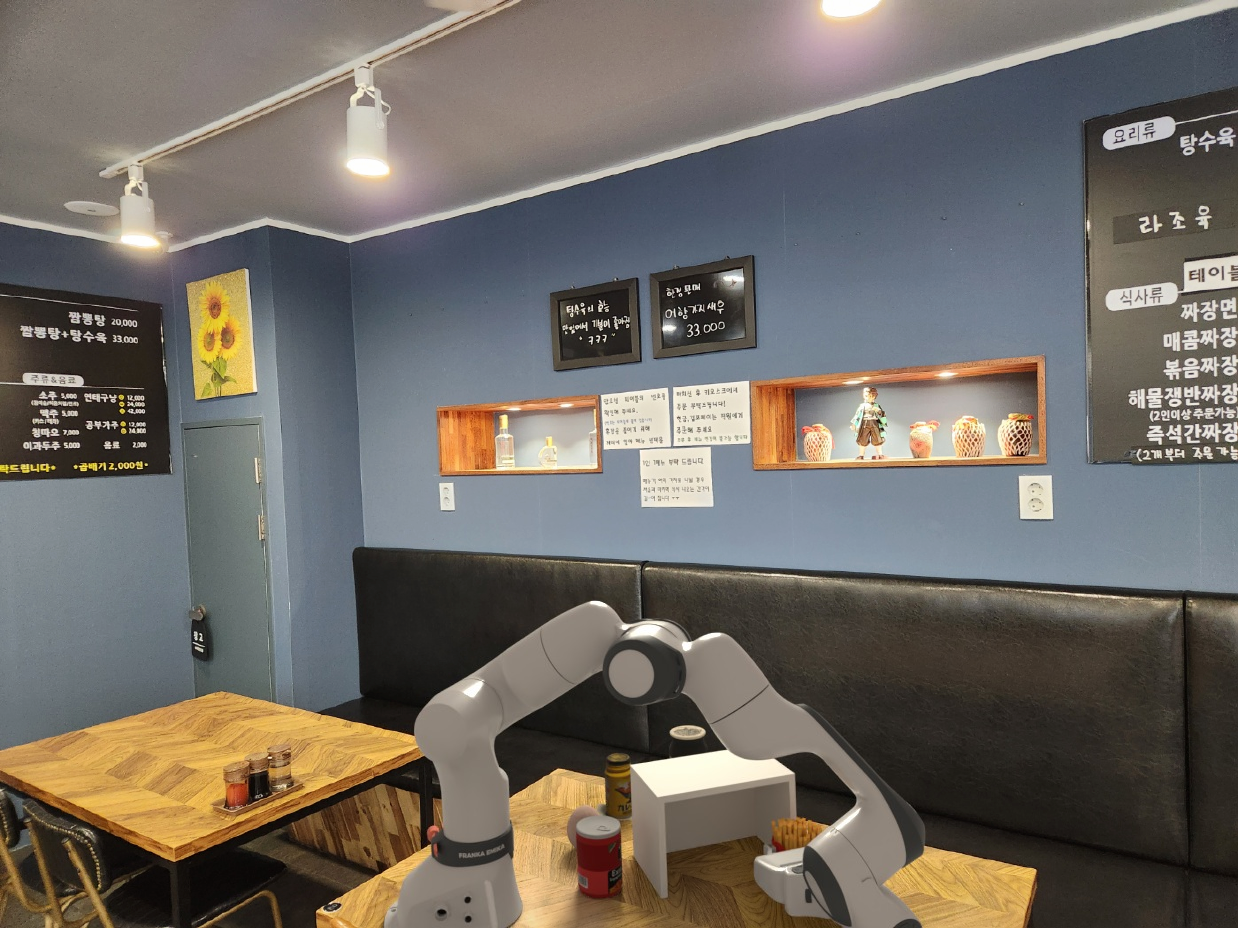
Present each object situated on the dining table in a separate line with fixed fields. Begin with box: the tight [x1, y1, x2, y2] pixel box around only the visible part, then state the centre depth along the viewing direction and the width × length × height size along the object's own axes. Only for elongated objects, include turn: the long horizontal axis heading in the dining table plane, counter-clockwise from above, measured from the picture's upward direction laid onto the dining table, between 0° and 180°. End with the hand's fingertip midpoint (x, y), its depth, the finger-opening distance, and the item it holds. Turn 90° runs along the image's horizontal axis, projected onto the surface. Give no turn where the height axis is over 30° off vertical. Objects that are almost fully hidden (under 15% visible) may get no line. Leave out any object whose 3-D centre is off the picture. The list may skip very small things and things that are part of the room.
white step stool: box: [630, 749, 797, 899], centre depth 139 cm, size 26×15×17 cm, turn 107°
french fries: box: [771, 816, 823, 853], centre depth 128 cm, size 8×4×12 cm, turn 73°
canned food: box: [576, 816, 624, 900], centre depth 132 cm, size 8×8×11 cm
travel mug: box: [668, 725, 709, 759], centre depth 158 cm, size 8×8×18 cm
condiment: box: [596, 752, 632, 821], centre depth 161 cm, size 7×8×12 cm
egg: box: [566, 804, 600, 850], centre depth 146 cm, size 7×7×8 cm
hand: (791, 843), depth 129 cm, fingers open, 8 cm apart
